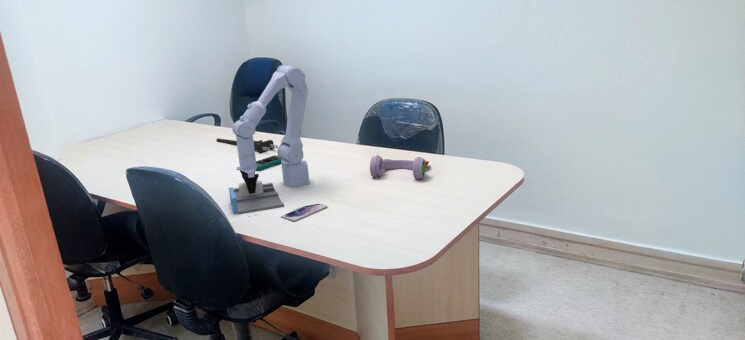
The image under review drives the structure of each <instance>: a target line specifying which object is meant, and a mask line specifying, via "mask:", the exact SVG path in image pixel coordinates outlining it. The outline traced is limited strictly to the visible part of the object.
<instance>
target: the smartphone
mask: <svg viewBox="0 0 745 340" xmlns="http://www.w3.org/2000/svg"><path fill="white" fill-rule="evenodd" d="M328 208H329V207H328V206H327V205H324V204H321V203H316V204H315V203H314V204H309V205H304V206H302V207H299V208H297V209H294V210H293V211H289V212H287V213H285V214H283V215H281V216H280V218H281V219H283V220H287V221H289V222H292V223H296V222H300V221H301V220H303V219H305V218H308V217H309V216H312V215H314V214H316V213H319V212H321V211H324V210H326V209H328Z"/></svg>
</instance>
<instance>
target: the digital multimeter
mask: <svg viewBox="0 0 745 340" xmlns="http://www.w3.org/2000/svg"><path fill="white" fill-rule="evenodd" d="M256 165H257V169H256V171H255V172H262V171H265V170H268V169H270V168H274V167H277V166H279V165H282V163H281V158H280V157H279V156H278V155H276V154H275V155H271V156H267V157H265V158H262V159H259V160H256Z"/></svg>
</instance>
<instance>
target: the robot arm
mask: <svg viewBox="0 0 745 340" xmlns="http://www.w3.org/2000/svg"><path fill="white" fill-rule="evenodd" d="M285 88H287V89H288V90H289V91H290V92H291V98H290V104H289V111H288V117H287V124H286V130H285V134H284V136H283V137H282V138H281V141H280V144H279V145H278V148H277V150H276V151H277V152H276V153H277V156H279V157H280V158H281V163H282V164H281V173H282V174H281V175H282V182H283V186H285V187H287V188H288V187H290V188H291V187H299V186H302V185H308V184H310V175H309V167H308V162H307V161H306V160H303V158H304V151H303V147H304V144H303V142H302V139H301V135H302V134H301V133H302V129H303V122H304V116H305V109H306V104H307V98H308V91H309V88H308V86H307V82H306V73H305V72H304V71H303V70H302V69H301V68H300V67H299V66H293V65H288V64H281V65H279V66H278V67H277V69H276V71H274V73H272V76H271V78H270V80H269V82H268V84H267V85H266V87H265V89H264V90H263V91H262V93H261V94H260V96H259V98H258V99H257V101H253V102H252V101H251V103H248V105H247V109H246V110H245V112H244V113H243V115H241V116H240V117H239V119H238V120H237V121H235V122H234V124H233V128H232V129H231V130H232V133H233V134H234V135H235V137H236V141H237V145H236V148H237V154H238V161H239V164H238V165H239V166H236V171H239V172H240V173H241V178H242V179H243V181H244V183H246V185H247V189H248V192H249V194H253V193H255V192H256V182H257V181H258V179H259V173H256V172H257V171H256V169H257V165H256V161H257V160H256V159H257V158H256V151H255V149H254V141H255V140H254V135H255V133H256V128H257V125H258V124H259V122H260V121H261V120H262V118H263V117H264V115H265V114H266V113H267V105H268V104H269V103H271V101H272V100H273V98H274V97H275V96H276V94H277V93H278V92H279V91H280V90H281V89H285Z"/></svg>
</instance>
